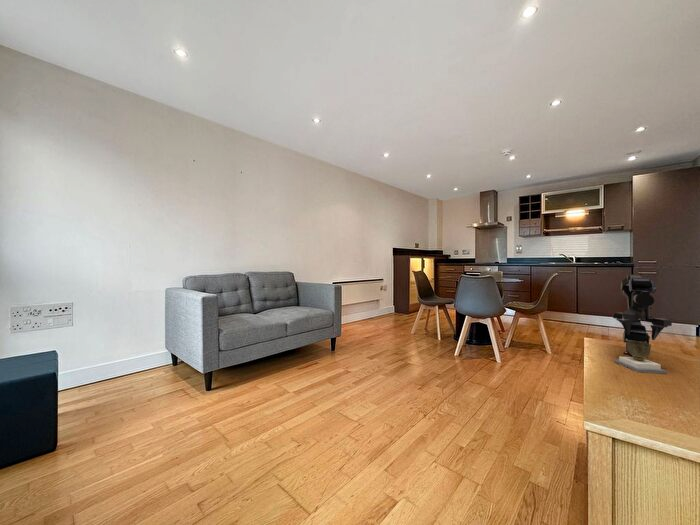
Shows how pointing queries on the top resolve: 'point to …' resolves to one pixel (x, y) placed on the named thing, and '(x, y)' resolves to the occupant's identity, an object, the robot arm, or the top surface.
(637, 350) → the cup
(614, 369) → the top surface
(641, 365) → the stand
